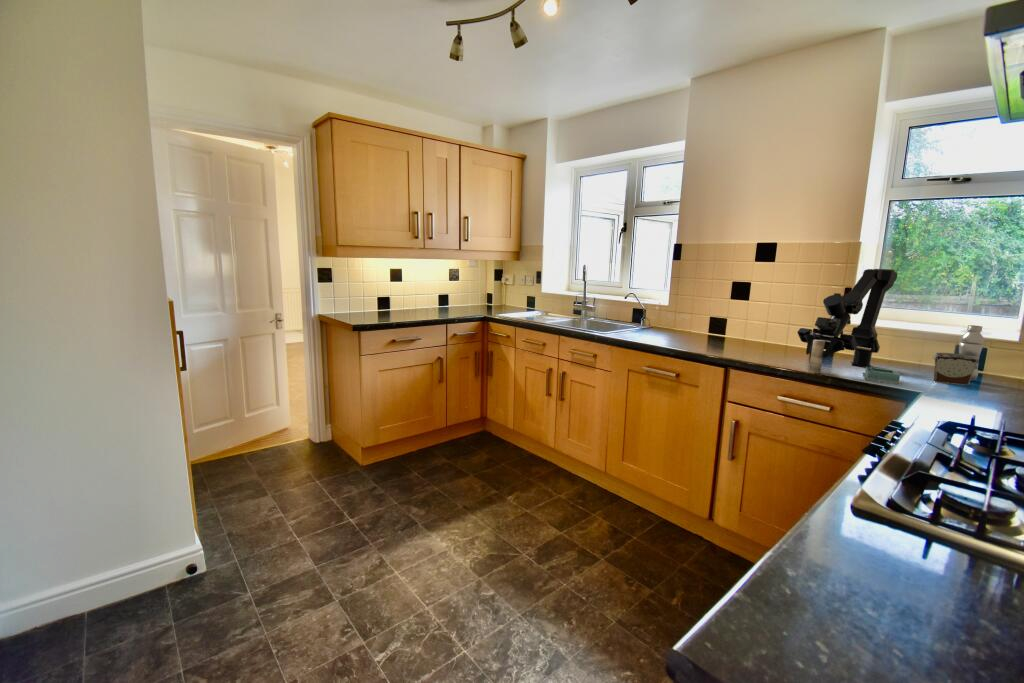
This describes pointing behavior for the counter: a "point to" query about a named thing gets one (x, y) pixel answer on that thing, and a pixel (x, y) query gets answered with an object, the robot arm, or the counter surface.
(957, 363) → the food container
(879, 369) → the collar plate
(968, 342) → the plastic bottle
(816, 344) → the dowel
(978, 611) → the counter surface
